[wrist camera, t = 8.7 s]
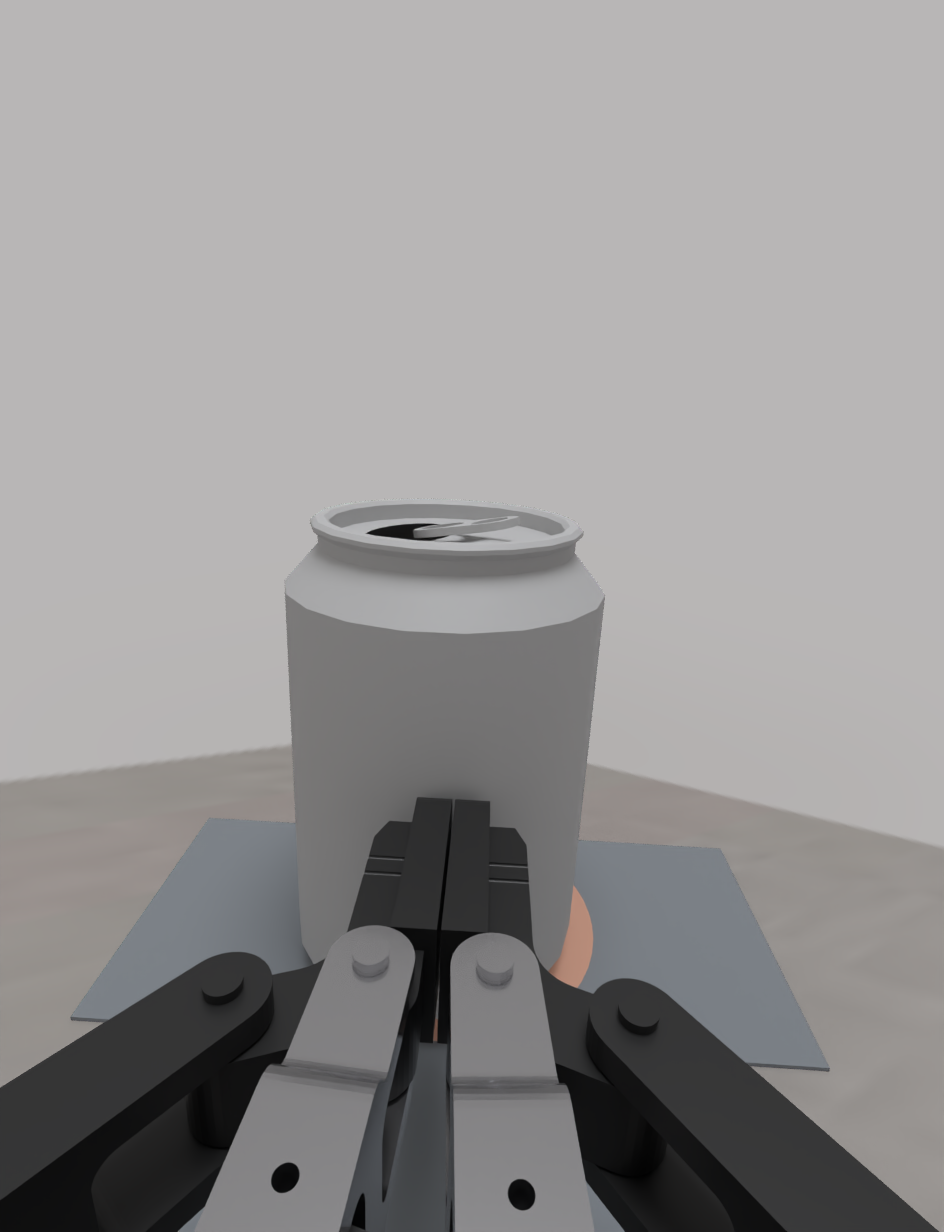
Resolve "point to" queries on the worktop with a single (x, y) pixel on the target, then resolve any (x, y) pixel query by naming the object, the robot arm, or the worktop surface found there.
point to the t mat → (591, 955)
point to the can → (439, 690)
